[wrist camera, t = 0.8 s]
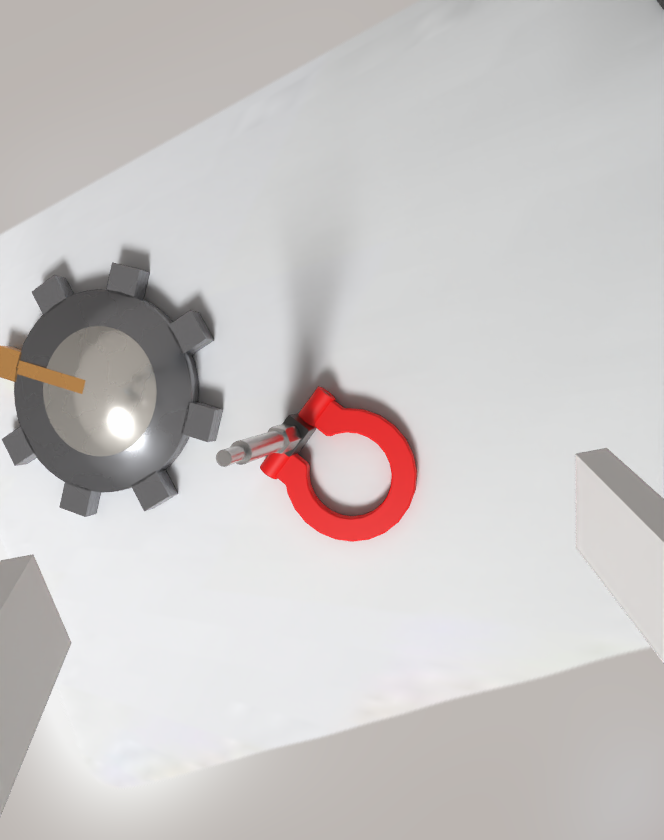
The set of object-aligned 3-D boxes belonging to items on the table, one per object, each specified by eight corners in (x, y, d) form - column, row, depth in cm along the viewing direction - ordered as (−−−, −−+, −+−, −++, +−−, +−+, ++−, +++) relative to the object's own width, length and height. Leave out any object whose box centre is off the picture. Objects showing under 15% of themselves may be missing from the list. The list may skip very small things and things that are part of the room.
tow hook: (444, 462, 39) (329, 373, 40) (429, 505, 27) (262, 373, 28) (364, 562, 41) (255, 474, 42) (314, 647, 28) (161, 517, 29)
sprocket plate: (147, 217, 43) (137, 211, 42) (268, 439, 42) (261, 441, 40) (-30, 349, 48) (-45, 348, 46) (72, 556, 46) (61, 560, 45)
